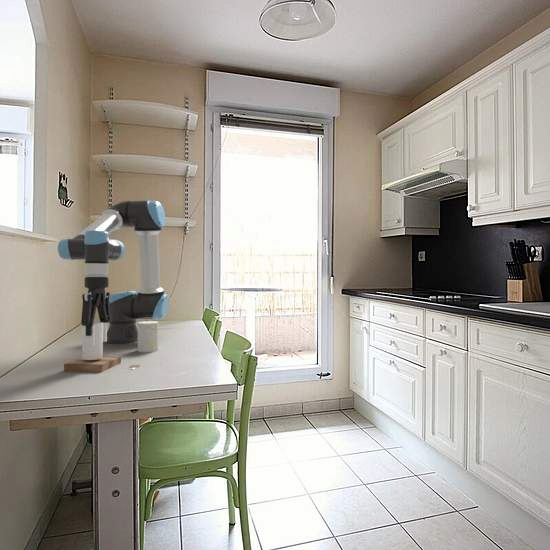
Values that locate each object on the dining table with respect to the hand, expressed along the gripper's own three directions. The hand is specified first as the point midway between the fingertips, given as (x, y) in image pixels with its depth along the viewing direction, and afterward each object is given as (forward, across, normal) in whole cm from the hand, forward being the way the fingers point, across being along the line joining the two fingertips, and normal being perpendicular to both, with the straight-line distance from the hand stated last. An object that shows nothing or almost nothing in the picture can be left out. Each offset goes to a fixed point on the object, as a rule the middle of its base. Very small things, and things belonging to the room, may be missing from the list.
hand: (96, 343), depth 141 cm
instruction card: (+8, 0, +13) cm, 15 cm away
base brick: (+9, 0, -1) cm, 9 cm away
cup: (+9, -29, +6) cm, 31 cm away
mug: (+5, -1, -2) cm, 6 cm away
